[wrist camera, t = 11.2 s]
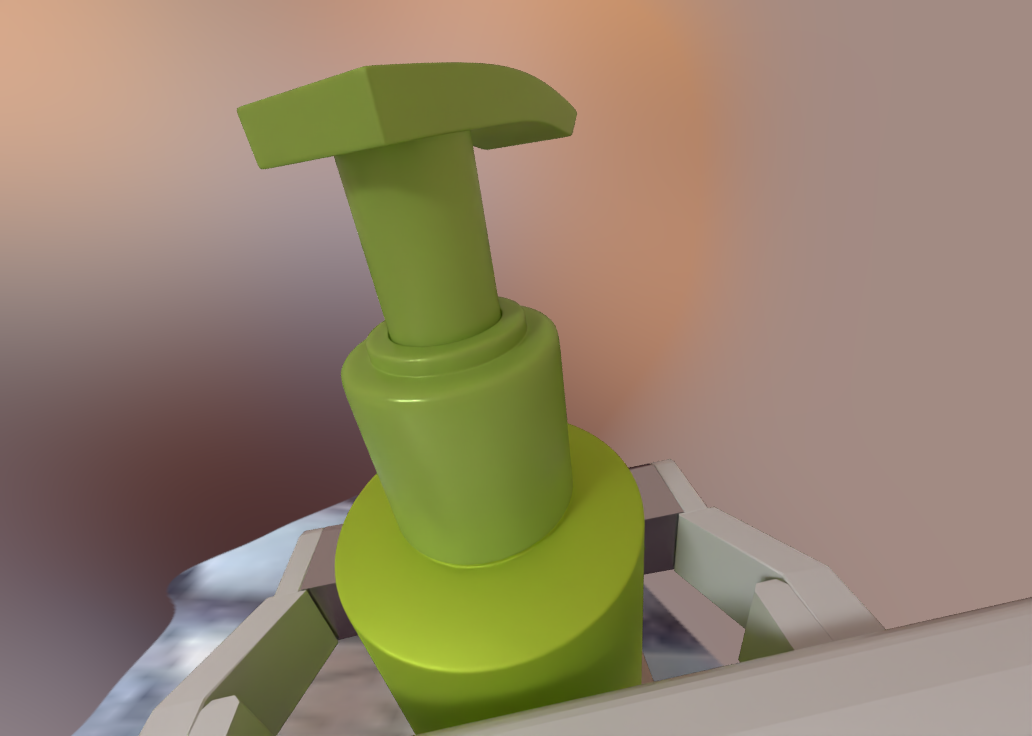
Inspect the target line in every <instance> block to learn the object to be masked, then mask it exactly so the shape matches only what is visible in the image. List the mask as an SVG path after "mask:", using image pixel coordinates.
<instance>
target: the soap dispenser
mask: <svg viewBox="0 0 1032 736" xmlns="http://www.w3.org/2000/svg"><path fill="white" fill-rule="evenodd" d="M237 113H238V116H239V118H240V121H241V124H242V126H243V129H244V131H245V133H246V136H247V139H248V141H249V144H250V146H251V149H252V151H253V154H254V156H255V159H256V161H257V164H258V166H259V168H260V169H269V168H274V167H279V166H285V165H289V164H295V163H300V162H305V161H310V160H315V159H320V158H325V157H331V156H334V158H335V162H336V165H337V168H338V171H339V174H340V177H341V180H342V184H343V187H344V190H345V194H346V197H347V199H348V203H349V206H350V209H351V213H352V216H353V219H354V222H355V225H356V229H357V232H358V235H359V238H360V241H361V245H362V248H363V251H364V254H365V257H366V260H367V264H368V267H369V270H370V273H371V277H372V279H373V283H374V286H375V289H376V293H377V296H378V299H379V302H380V305H381V309H382V312H383V315H384V318H385V321H383V322H382V323H380V324H379V325H377V326H376V327H375V328H374V329H373V330H372V331H371V332H370V334H369V335H368V337H367V339H365V340H364V341H363V342H361V343H360V344H359V345H358V346H357V347H355V348H354V350H352V352H351V353H350V354H349V355H348V357H347V358H346V360H345V362H344V364H343V367H342V370H341V378H342V384H343V387H344V390H345V393H346V396H347V399H348V401H349V404H350V406H351V409H352V411H353V414H354V416H355V419H356V421H357V424H358V426H359V429H360V431H361V434H362V436H363V439H364V441H365V444H366V446H367V449H368V451H369V454H370V456H371V459H372V461H373V464H374V466H375V469H376V471H377V474H376V475H375V476H374V477H373V478H372V479H371V480H370V481H369V483H368V484H367V485H366V486H365V487H364V489H363V490H362V491H361V493H360V494H359V496H358V497H357V499H356V500H355V502H354V503H353V505H352V507H351V509H350V510H349V512H348V514H347V516H346V519H345V521H344V523H343V526H342V529H341V532H340V535H339V538H338V542H337V547H336V554H335V579H336V586H337V591H338V594H339V598H340V601H341V603H342V606H343V608H344V610H345V613H346V614H347V616H348V618H349V620H350V622H351V623H352V625H353V627H354V629H355V630H356V632H357V634H358V636H359V637H360V639H361V641H362V643H363V644H364V646H365V648H366V649H367V651H368V653H369V655H370V656H371V658H372V660H373V662H374V663H375V665H376V667H377V669H378V670H379V672H380V674H381V676H382V677H383V679H384V681H385V682H386V684H387V686H388V688H389V689H390V691H391V693H392V695H393V696H394V698H395V700H396V702H397V703H398V705H399V707H400V708H401V710H402V712H403V714H404V715H405V717H406V719H407V721H408V722H409V724H410V726H411V728H412V729H413V731H414V733H415V734H416V735H418V734H422V733H427V732H431V731H436V730H440V729H445V728H449V727H454V726H458V725H462V724H467V723H471V722H476V721H480V720H485V719H489V718H494V717H498V716H503V715H507V714H512V713H516V712H521V711H525V710H529V709H534V708H538V707H543V706H547V705H552V704H556V703H561V702H565V701H570V700H574V699H579V698H583V697H588V696H592V695H597V694H601V693H606V692H610V691H615V690H619V689H624V688H628V687H633V686H637V685H641V678H642V630H643V581H644V580H643V579H644V532H645V520H644V508H643V502H642V498H641V495H640V491H639V488H638V486H637V483H636V481H635V479H634V477H633V475H632V473H631V472H630V470H629V468H628V467H627V465H626V464H625V463H624V462H623V460H622V459H621V458H620V457H619V456H618V455H617V453H616V452H614V451H613V450H612V449H611V448H610V447H609V446H608V445H607V444H605V443H604V442H603V441H601V440H600V439H599V438H597V437H596V436H594V435H592V434H590V433H589V432H587V431H585V430H583V429H580V428H578V427H576V426H573V425H571V424H568V423H567V414H566V404H565V393H564V383H563V373H562V362H561V351H560V343H559V336H558V333H557V329H556V326H555V325H554V323H553V322H552V321H551V320H550V319H549V318H548V317H547V316H546V315H544V314H543V313H541V312H539V311H537V310H535V309H532V308H528V307H525V306H520V305H519V304H518V303H516V302H515V301H513V300H510V299H507V298H503V297H498V295H497V289H496V283H495V277H494V271H493V265H492V259H491V252H490V246H489V240H488V234H487V228H486V222H485V217H484V211H483V204H482V198H481V192H480V186H479V180H478V174H477V168H476V162H475V156H474V150H473V146H475V147H478V148H481V149H486V150H488V149H496V148H502V147H508V146H514V145H519V144H526V143H532V142H538V141H544V140H550V139H557V138H563V137H568V136H571V135H572V133H573V128H574V125H575V120H576V116H577V112H576V110H575V109H574V107H573V106H572V105H571V104H570V103H569V102H568V101H567V100H566V99H565V98H563V97H562V96H561V95H560V94H559V93H558V92H557V91H555V90H554V89H553V88H552V87H550V86H549V85H547V84H546V83H545V82H543V81H541V80H540V79H538V78H536V77H534V76H532V75H530V74H528V73H525V72H523V71H520V70H517V69H514V68H510V67H505V66H500V65H493V64H483V63H461V62H460V63H459V62H451V63H448V62H447V63H412V64H390V65H372V66H364V67H360V68H357V69H354V70H351V71H348V72H345V73H342V74H339V75H336V76H333V77H329V78H327V79H324V80H320V81H318V82H314V83H311V84H308V85H305V86H302V87H299V88H296V89H293V90H290V91H287V92H284V93H281V94H277V95H274V96H271V97H268V98H265V99H263V100H259V101H256V102H253V103H250V104H247V105H244V106H241V107H239V108H237Z"/></svg>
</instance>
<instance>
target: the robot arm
mask: <svg viewBox="0 0 1032 736" xmlns="http://www.w3.org/2000/svg"><path fill="white" fill-rule="evenodd" d="M629 470H630V472H631V473H632V475H633V477H634V479H635V481H636V483H637V486H638V488H639V491H640V495H641V498H642V502H643V508H644V520H645V532H644V574H649V573H655V572H660V571H666V570H672V569H674V571H675V572H676V573H678V574H679V575H680V576H681V577H682V578H684V579H685V580H686V581H687V582H689V583H690V584H691V585H692V586H693V587H695V588H696V589H697V590H698V591H699V592H701V593H702V594H703V595H704V596H706V597H707V598H708V599H709V600H710V601H712V602H713V603H714V604H716V605H717V606H718V607H719V608H720V609H722V610H723V611H724V612H725V613H727V614H728V615H729V616H730V617H731V618H732V619H734V620H735V621H736V622H737V623H739V624H740V625H741V626H743V628H745V633H744V638H743V642H742V646H741V651H740V655H739V659H738V660H739V661H740V663H736V664H731V665H727V666H722V667H718V668H713V669H709V670H704V671H700V672H695V673H691V674H686V675H682V676H677V677H673V678H669V679H664V680H660V681H655V682H651V683H646V684H642V685H637V686H633V687H628V688H624V689H619V690H615V691H610V692H606V693H601V694H597V695H592V696H588V697H583V698H579V699H574V700H570V701H565V702H561V703H556V704H552V705H547V706H543V707H538V708H534V709H529V710H525V711H521V712H516V713H512V714H507V715H503V716H498V717H494V718H489V719H485V720H480V721H476V722H471V723H467V724H462V725H458V726H454V727H449V728H445V729H440V730H436V731H431V732H427V733H422V734H418V735H413V736H1032V597H1030V598H1026V599H1021V600H1017V601H1012V602H1008V603H1003V604H999V605H994V606H990V607H985V608H981V609H977V610H972V611H968V612H963V613H959V614H954V615H950V616H945V617H941V618H936V619H932V620H927V621H923V622H918V623H914V624H910V625H905V626H901V627H896V628H892V629H887V630H886V629H885V628H884V627H883V626H882V625H881V623H880V622H879V621H878V620H877V619H876V618H875V617H874V616H873V615H872V614H871V612H870V611H869V610H868V609H867V608H866V607H865V606H864V605H863V604H862V603H861V601H860V600H859V599H858V598H857V597H856V596H855V595H854V594H853V593H852V592H851V591H850V589H849V588H848V587H847V586H846V585H845V584H844V583H843V582H842V581H841V579H839V577H838V576H837V575H836V574H835V573H834V572H833V571H832V570H831V568H830V567H829V566H827V565H825V564H823V563H821V562H819V561H817V560H815V559H814V558H812V557H810V556H808V555H806V554H804V553H802V552H800V551H798V550H796V549H794V548H792V547H791V546H789V545H787V544H785V543H783V542H781V541H779V540H777V539H775V538H773V537H771V536H769V535H768V534H766V533H764V532H762V531H760V530H758V529H756V528H754V527H752V526H750V525H748V524H746V523H744V522H743V521H741V520H739V519H737V518H735V517H733V516H731V515H729V514H727V513H725V512H723V511H722V510H719V509H718V508H716V507H710V508H708V507H707V505H706V504H705V503H704V501H703V500H702V499H701V497H700V496H699V494H698V493H697V492H696V490H695V489H694V488H693V486H692V485H691V484H690V482H689V481H688V479H687V478H686V477H685V475H684V474H683V473H682V471H681V470H680V468H679V467H678V466H677V464H676V463H675V462H674V461H673V460H671V459H668V460H663V461H658V462H653V463H651V464H644V465H639V466H634V467H630V468H629ZM342 526H343V524H340V525H334V526H328V527H325V528H319V529H313V530H307V531H305V532H304V533H303V534H302V535H301V536H300V537H299V539H298V541H297V544H296V546H295V548H294V551H293V553H292V555H291V558H290V560H289V562H288V565H287V567H286V570H285V572H284V574H283V577H282V579H281V581H280V584H279V586H278V588H277V591H276V593H275V595H274V597H270V598H267V599H266V600H265V601H264V602H263V603H262V604H261V605H260V606H259V607H258V608H257V609H255V610H254V611H253V612H252V613H251V614H250V615H249V616H248V617H247V618H246V619H245V620H244V621H243V622H242V623H241V624H240V625H239V626H238V627H237V628H236V629H235V630H234V631H233V632H232V633H231V634H230V635H229V636H228V637H227V638H226V639H225V640H224V641H223V642H222V643H221V644H220V645H219V646H218V647H217V648H216V649H215V650H214V651H213V652H212V653H211V654H210V655H209V656H208V657H207V658H206V659H205V660H204V661H203V662H202V663H201V664H200V665H199V666H198V667H196V668H195V669H194V670H193V671H192V672H191V673H190V674H189V675H188V676H187V677H186V678H185V679H184V680H183V681H182V682H181V683H180V684H179V685H178V686H177V687H176V688H175V689H174V690H173V691H172V692H171V693H170V694H169V695H168V696H167V697H166V698H165V699H164V700H163V701H162V702H161V703H160V704H159V705H158V706H157V707H156V708H155V709H154V710H153V711H152V713H151V715H150V717H149V718H148V720H147V722H146V724H145V725H144V727H143V729H142V731H141V733H140V734H139V736H276V735H277V734H278V732H279V731H280V729H281V728H282V726H283V725H284V723H285V722H286V720H287V719H288V717H289V716H290V714H291V713H292V711H293V710H294V708H295V707H296V705H297V704H298V702H299V701H300V699H301V698H302V696H303V695H304V693H305V692H306V690H307V689H308V687H309V686H310V684H311V683H312V681H313V680H314V678H315V677H316V675H317V674H318V672H319V671H320V669H321V668H322V666H323V665H324V663H325V662H326V660H327V659H328V657H329V656H330V654H331V653H332V651H333V650H334V648H335V647H336V645H337V644H338V640H340V639H344V638H348V637H352V636H356V635H358V634H357V632H356V630H355V629H354V627H353V625H352V623H351V622H350V620H349V618H348V616H347V614H346V613H345V610H344V608H343V606H342V603H341V601H340V598H339V594H338V591H337V586H336V579H335V554H336V547H337V542H338V538H339V535H340V532H341V529H342Z"/></svg>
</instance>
